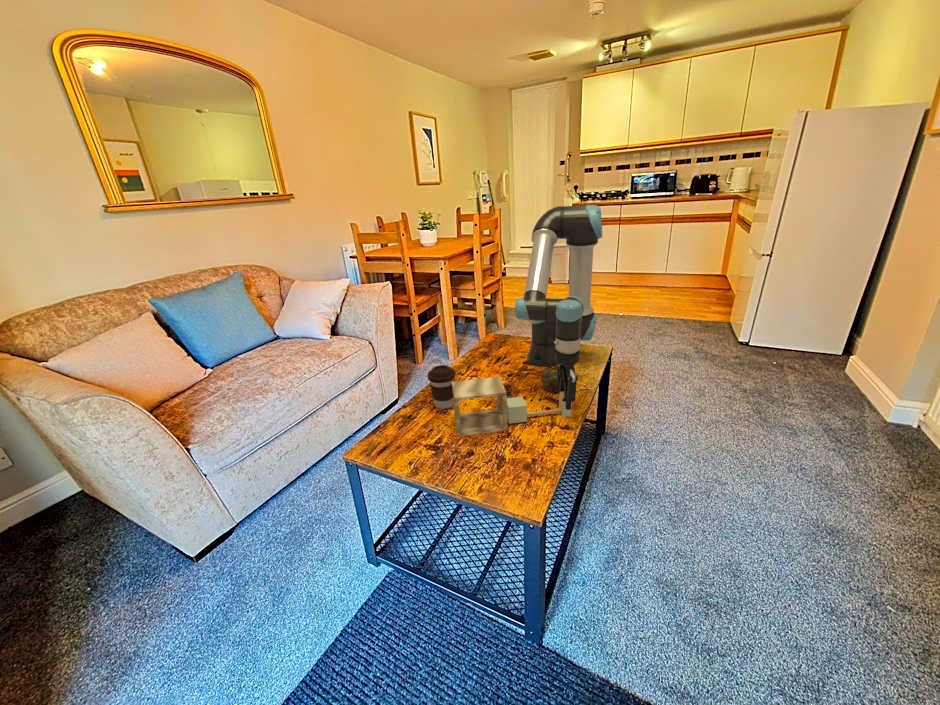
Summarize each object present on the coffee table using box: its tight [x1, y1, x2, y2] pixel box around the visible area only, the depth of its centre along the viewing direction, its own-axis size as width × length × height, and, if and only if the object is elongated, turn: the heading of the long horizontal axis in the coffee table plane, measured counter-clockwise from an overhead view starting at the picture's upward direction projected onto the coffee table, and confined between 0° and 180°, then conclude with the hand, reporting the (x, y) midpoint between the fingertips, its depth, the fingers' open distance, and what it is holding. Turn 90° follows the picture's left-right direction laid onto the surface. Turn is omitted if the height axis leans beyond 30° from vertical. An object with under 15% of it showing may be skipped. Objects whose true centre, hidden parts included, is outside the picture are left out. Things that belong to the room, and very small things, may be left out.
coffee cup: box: [427, 364, 456, 410], centre depth 142 cm, size 10×10×15 cm
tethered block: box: [507, 391, 564, 424], centre depth 131 cm, size 22×6×8 cm, turn 97°
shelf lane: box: [452, 376, 508, 437], centre depth 128 cm, size 16×11×15 cm
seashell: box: [540, 368, 559, 393], centre depth 150 cm, size 11×9×8 cm
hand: (565, 413), depth 133 cm, fingers closed on tethered block, 3 cm apart
